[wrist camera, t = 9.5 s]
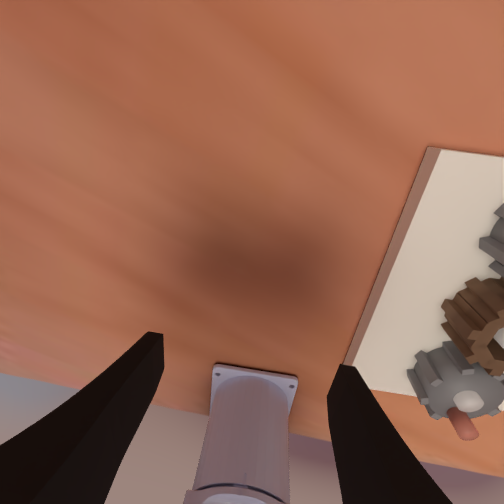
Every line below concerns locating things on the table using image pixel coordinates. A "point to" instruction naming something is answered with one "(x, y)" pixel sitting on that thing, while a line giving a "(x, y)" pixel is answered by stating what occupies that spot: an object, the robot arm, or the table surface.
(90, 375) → the table surface
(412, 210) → the gear board
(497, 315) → the walnut gear
